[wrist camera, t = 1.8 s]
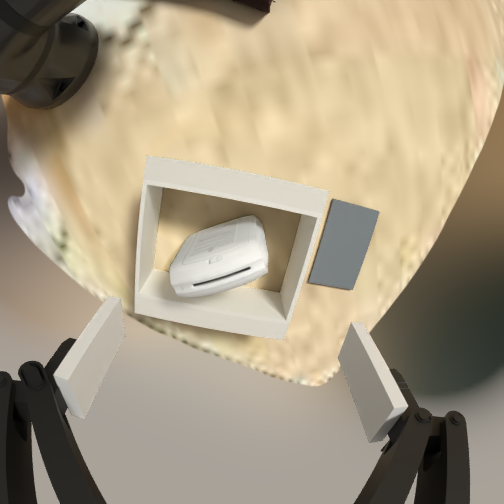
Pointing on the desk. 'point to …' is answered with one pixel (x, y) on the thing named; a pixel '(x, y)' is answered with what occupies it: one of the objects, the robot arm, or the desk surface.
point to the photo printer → (220, 258)
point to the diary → (258, 4)
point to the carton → (240, 298)
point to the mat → (343, 245)
